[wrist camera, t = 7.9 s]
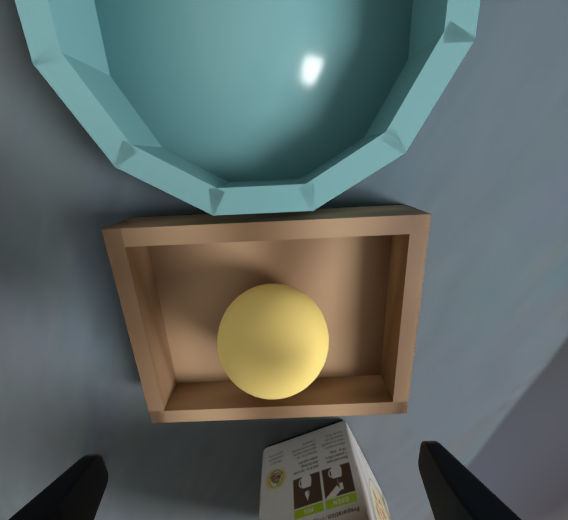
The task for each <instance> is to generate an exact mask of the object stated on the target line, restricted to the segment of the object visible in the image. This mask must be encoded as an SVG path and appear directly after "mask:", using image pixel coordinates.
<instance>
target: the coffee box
mask: <svg viewBox="0 0 568 520" xmlns="http://www.w3.org/2000/svg"><path fill="white" fill-rule="evenodd" d="M259 520H391V517H390V514H389V511H388V507H387V503H386V500H385V497H384V495H383V493H382V491H381V489H380V487H379V485H378V483H377V481H376V479H375V477H374V475H373V473H372V471H371V469H370V467H369V465H368V464H367V462H366V460H365V458H364V456H363V454H362V452H361V450H360V448H359V446H358V444H357V442H356V440H355V438H354V436H353V434H352V432H351V430H350V428H349V426H348V424H347V423H346V422H345V421H341V422H338V423H336V424H333V425H330V426H327V427H324V428H321V429H318V430H316V431H313V432H310V433H307V434H304V435H301V436H299V437H296V438H293V439H290V440H287V441H285V442H282V443H279V444H276V445H273V446H270V447H267V448H266V449H265V450H264V452H263V463H262V477H261V490H260V508H259Z"/></svg>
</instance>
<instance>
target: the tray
mask: <svg viewBox="0 0 568 520" xmlns="http://www.w3.org/2000/svg"><path fill="white" fill-rule="evenodd" d="M430 220H431V214H430V213H427V212H424V211H422V210H419V209H416V208H413V207H411V206H408V205H387V206H366V207H344V208H323V209H315V210H314V211H299V212H278V213H256V214H235V215H215V216H212V215H211V214H195V215H173V216H152V217H132V218H129V219H127V220H124V221H122V222H119V223H117V224H114V225H111V226H109V227H106V228H104V229H101V230H102V234H103V238H104V242H105V245H106V249H107V253H108V257H109V261H110V265H111V269H112V272H113V276H114V280H115V284H116V288H117V292H118V295H119V299H120V303H121V307H122V311H123V315H124V319H125V322H126V326H127V330H128V334H129V338H130V342H131V345H132V349H133V353H134V357H135V361H136V365H137V368H138V372H139V376H140V380H141V384H142V388H143V392H144V395H145V399H146V403H147V407H148V411H149V415H150V418H151V422H152V423H168V422H194V421H220V420H246V419H272V418H298V417H324V416H350V415H377V414H403V413H407V408H408V400H409V392H410V384H411V376H412V367H413V359H414V351H415V343H416V335H417V327H418V318H419V310H420V302H421V294H422V286H423V278H424V269H425V261H426V253H427V245H428V237H429V229H430ZM263 284H284V285H288V286H291V287H294V288H296V289H298V290H300V291H302V292H303V293H305V294H306V295H307V296H309V297H310V298H311V299H312V300H313V301H314V302H315V304H316V305H317V306H318V307H319V309H320V310H321V312H322V314H323V316H324V319H325V321H326V324H327V328H328V334H329V347H328V353H327V357H326V361H325V363H324V366H323V368H322V370H321V371H320V373H319V375H318V376H317V377H316V379H315V380H314V381H313V382H312V383H311V384H310V385H309V386H308V387H306V388H305V389H304V390H302V391H301V392H299V393H297V394H295V395H292V396H290V397H287V398H282V399H263V398H258V397H255V396H253V395H250V394H248V393H246V392H245V391H243V390H241V389H240V388H239V387H237V386H236V385H235V384H234V383H233V382H232V381H231V379H230V378H229V377H228V376H227V374H226V372H225V370H224V369H223V367H222V364H221V362H220V358H219V354H218V348H217V336H218V330H219V326H220V322H221V320H222V317H223V315H224V313H225V312H226V310H227V308H228V307H229V306H230V305H231V303H232V302H233V301H234V300H235V299H236V298H237V297H238V296H239V295H241V294H242V293H244V292H245V291H247V290H249V289H251V288H253V287H256V286H259V285H263Z"/></svg>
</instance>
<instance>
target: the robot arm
mask: <svg viewBox="0 0 568 520" xmlns="http://www.w3.org/2000/svg"><path fill="white" fill-rule="evenodd" d="M418 466H419V471H420V474H421V477H422V480H423V484H424V487H425V490H426V493H427V496H428V499H429V502H430V505H431V508H432V511H433V515H434V518H435V520H521V519H520V518H519V517H518V516H517V515H516V514H515V513H514V512H513V511H512V510H511V509H510V508H509V507H508V506H506V505H505V504H504V503H503V502H502V501H501V500H500V499H499V498H498V497H497V496H496V495H495V494H494V493H492V492H491V491H490V490H489V489H488V488H487V487H486V486H485V485H484V484H483V483H482V482H481V481H480V480H479V479H477V478H476V477H475V476H474V475H473V474H472V473H471V472H470V471H469V470H468V469H467V468H466V467H465V466H464V465H462V464H461V463H460V462H459V461H458V460H457V459H456V458H455V457H454V456H453V455H452V454H451V453H450V452H448V451H447V450H446V449H445V448H444V447H443V446H442V445H441V444H440V443H438V442H437V441H423V442H422V443H421V446H420V453H419V460H418ZM107 482H108V471H107V468H106V466H105V463H104V460H103V457H102V456H101V455H100V454H88V455H85V456H83V457H82V458H80V459H79V460H78V461H77V462H76V463H75V464H73V465H72V466H71V467H70V468H69V469H68V470H66V471H65V472H64V473H63V474H62V475H60V476H59V477H58V478H57V479H56V480H55V481H53V482H52V483H51V484H50V485H49V486H48V487H46V488H45V489H44V490H43V491H42V492H40V493H39V494H38V495H37V496H36V497H35V498H33V499H32V500H31V501H30V502H29V503H28V504H26V505H25V506H24V507H23V508H22V509H20V510H19V511H18V512H17V513H16V514H15V515H13V516H12V517H11V518H10V519H9V520H94V518H95V515H96V513H97V510H98V507H99V504H100V502H101V499H102V496H103V494H104V491H105V488H106V485H107Z"/></svg>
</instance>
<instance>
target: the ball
mask: <svg viewBox="0 0 568 520" xmlns="http://www.w3.org/2000/svg"><path fill="white" fill-rule="evenodd" d="M328 347H329V334H328V328H327V324H326V321H325V319H324V316H323V314H322V312H321V310H320V309H319V307H318V306H317V305H316V304H315V302H314V301H313V300H312V299H311V298H310V297H309V296H307V295H306V294H305V293H303V292H302V291H300V290H298V289H296V288H294V287H291V286H288V285H284V284H263V285H259V286H256V287H253V288H251V289H249V290H247V291H245V292H244V293H242V294H241V295H239V296H238V297H237V298H236V299H235V300H234V301H233V302H232V303H231V305H230V306H229V307H228V308H227V310H226V312H225V313H224V315H223V317H222V320H221V322H220V326H219V330H218V336H217V348H218V354H219V358H220V362H221V364H222V367H223V369H224V370H225V372H226V374H227V376H228V377H229V378H230V379H231V381H232V382H233V383H234V384H235V385H236V386H237V387H239V388H240V389H241V390H243V391H245V392H246V393H248V394H250V395H253V396H255V397H258V398H263V399H282V398H287V397H290V396H292V395H295V394H297V393H299V392H301V391H302V390H304V389H305V388H306V387H308V386H309V385H310V384H311V383H312V382H313V381H314V380H315V379H316V377H317V376H318V375H319V373H320V371H321V370H322V368H323V366H324V363H325V361H326V357H327V353H328Z"/></svg>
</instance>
